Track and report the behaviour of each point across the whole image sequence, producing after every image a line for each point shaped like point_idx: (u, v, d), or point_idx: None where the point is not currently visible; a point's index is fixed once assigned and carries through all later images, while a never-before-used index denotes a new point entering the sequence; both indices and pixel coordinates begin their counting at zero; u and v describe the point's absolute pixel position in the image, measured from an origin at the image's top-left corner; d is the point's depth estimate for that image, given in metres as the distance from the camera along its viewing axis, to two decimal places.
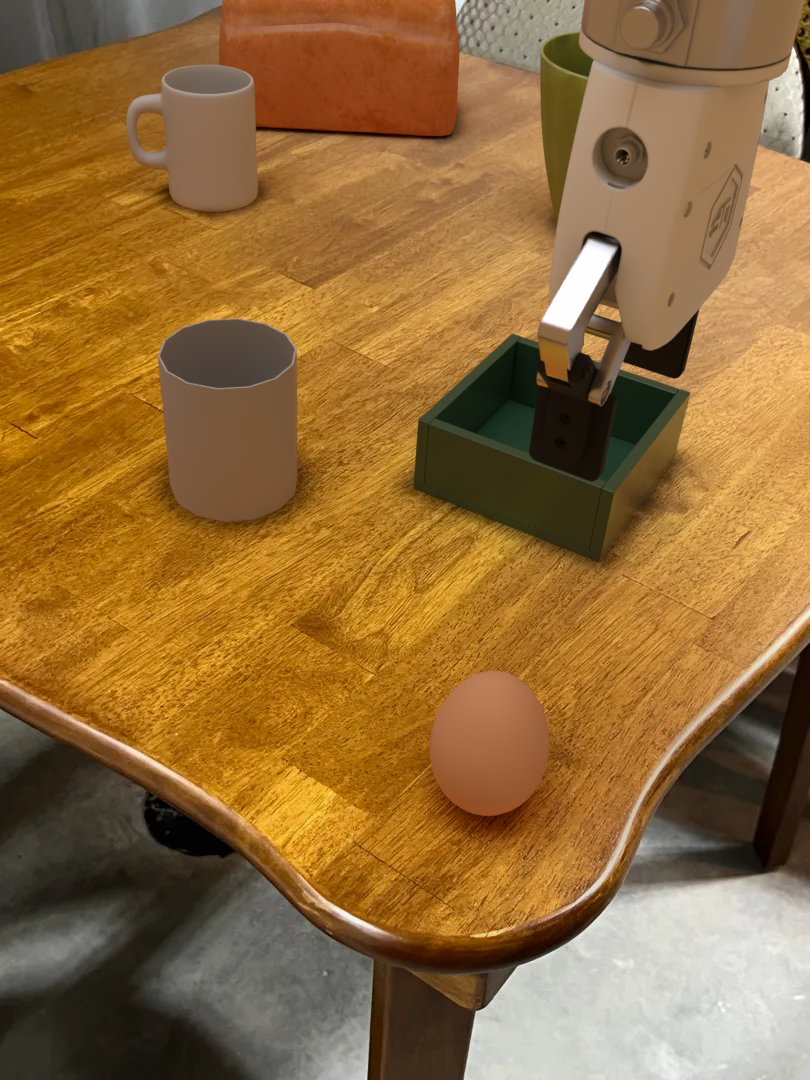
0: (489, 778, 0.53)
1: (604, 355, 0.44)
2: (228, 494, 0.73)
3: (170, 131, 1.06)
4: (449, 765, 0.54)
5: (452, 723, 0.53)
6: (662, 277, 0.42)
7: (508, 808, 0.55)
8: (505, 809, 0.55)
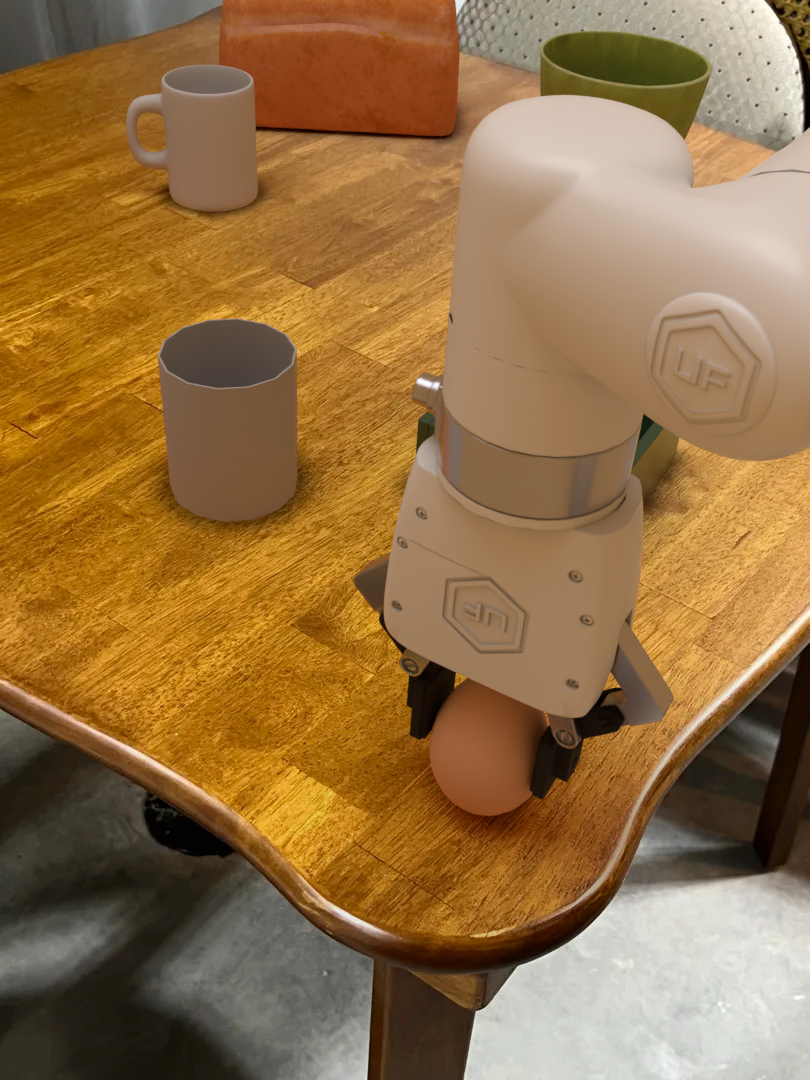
0: (489, 778, 0.53)
1: None
2: (228, 494, 0.73)
3: (170, 131, 1.06)
4: (449, 765, 0.54)
5: (452, 723, 0.53)
6: (387, 577, 0.49)
7: (508, 808, 0.55)
8: (505, 809, 0.55)
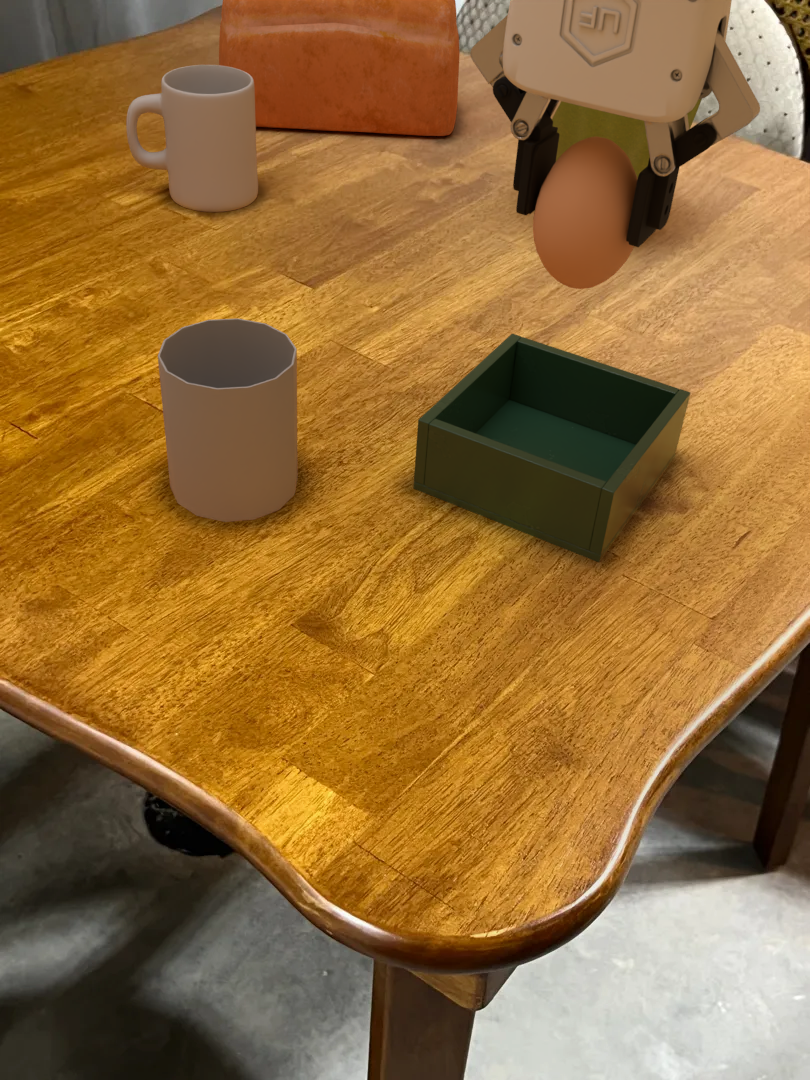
0: (592, 223, 0.60)
1: None
2: (228, 494, 0.73)
3: (170, 131, 1.06)
4: (554, 218, 0.61)
5: (559, 177, 0.60)
6: (509, 12, 0.56)
7: (605, 266, 0.62)
8: (603, 267, 0.62)
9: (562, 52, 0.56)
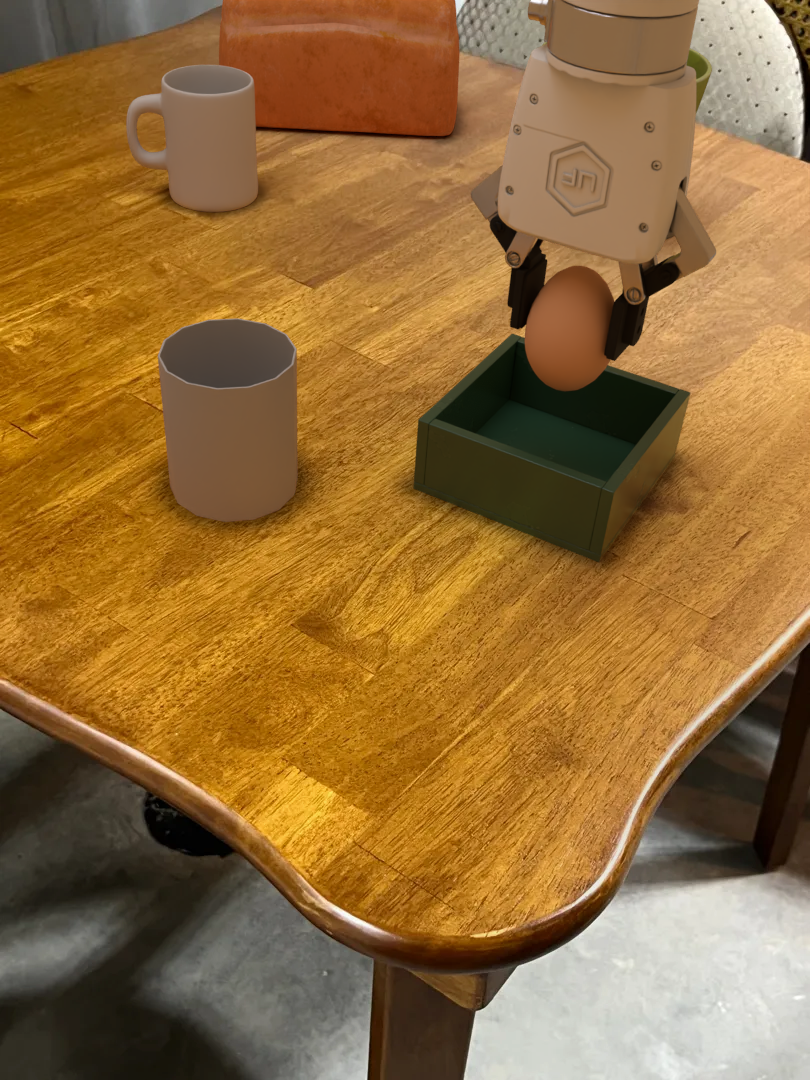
0: (574, 341, 0.70)
1: None
2: (228, 494, 0.73)
3: (170, 131, 1.06)
4: (542, 335, 0.71)
5: (546, 301, 0.70)
6: (503, 167, 0.66)
7: (586, 375, 0.72)
8: (584, 376, 0.72)
9: (548, 203, 0.65)
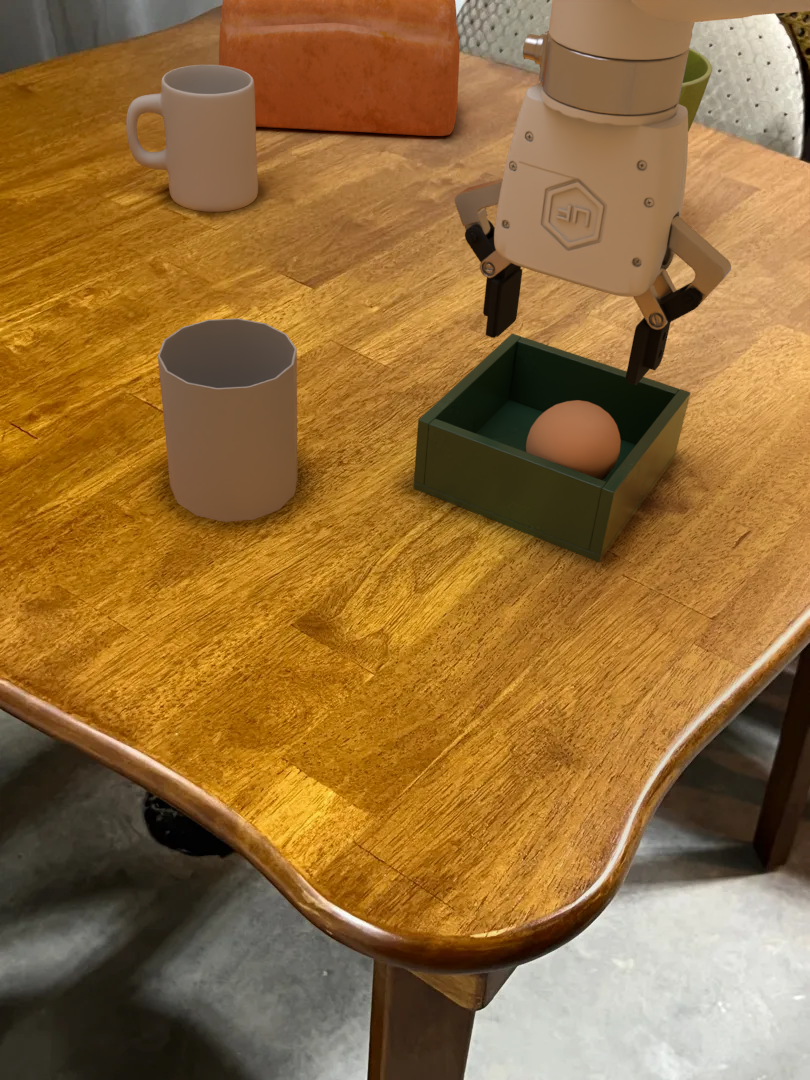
0: None
1: None
2: (228, 494, 0.73)
3: (170, 131, 1.06)
4: None
5: (553, 449, 0.71)
6: (499, 202, 0.68)
7: None
8: None
9: (543, 237, 0.67)
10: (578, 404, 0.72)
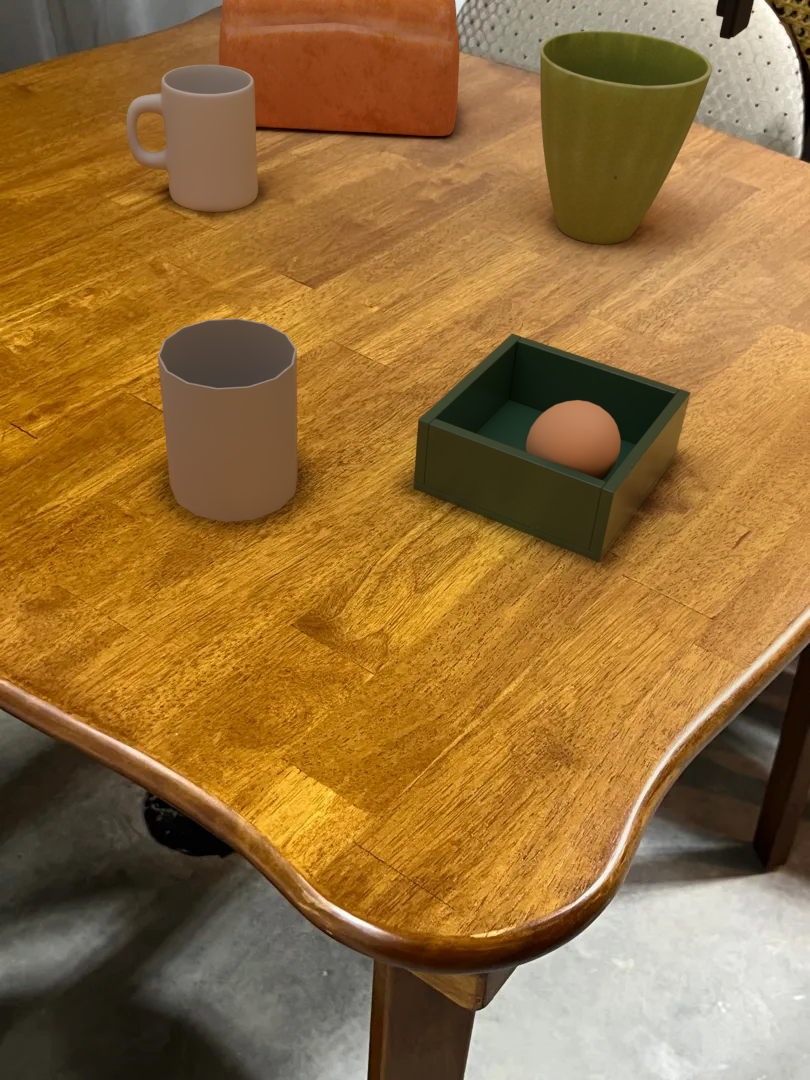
0: None
1: None
2: (228, 494, 0.73)
3: (170, 131, 1.06)
4: None
5: (553, 449, 0.71)
6: None
7: None
8: None
9: None
10: (578, 404, 0.72)
